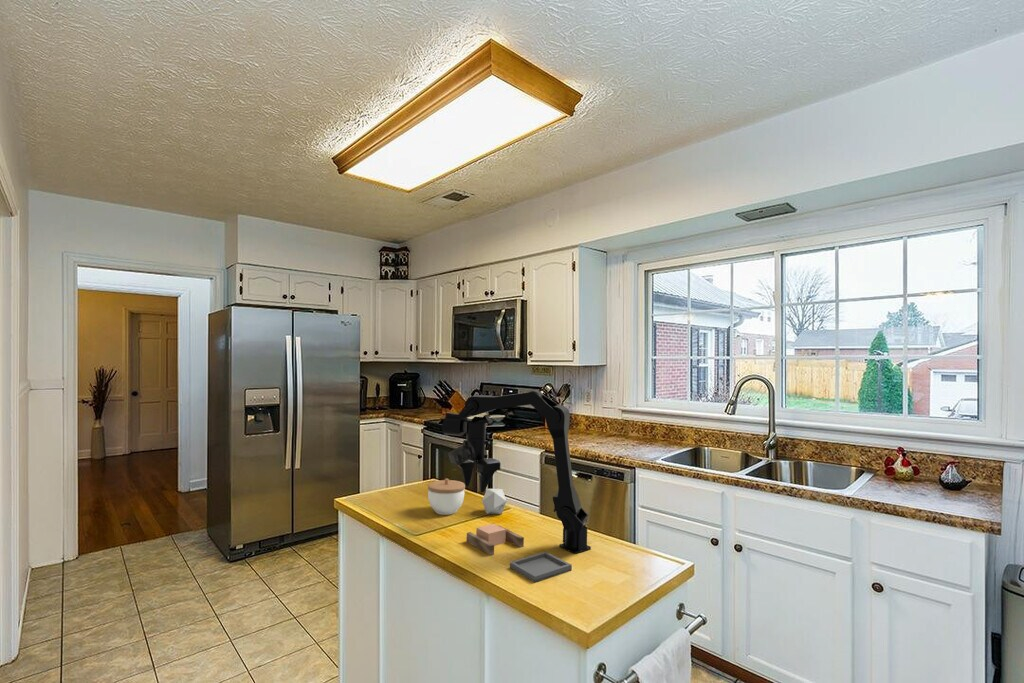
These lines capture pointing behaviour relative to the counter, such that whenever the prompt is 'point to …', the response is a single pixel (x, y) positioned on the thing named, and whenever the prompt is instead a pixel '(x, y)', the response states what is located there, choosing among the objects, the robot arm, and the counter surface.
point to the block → (492, 534)
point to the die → (494, 501)
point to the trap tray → (540, 566)
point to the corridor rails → (489, 547)
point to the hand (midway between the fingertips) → (474, 488)
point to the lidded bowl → (446, 496)
